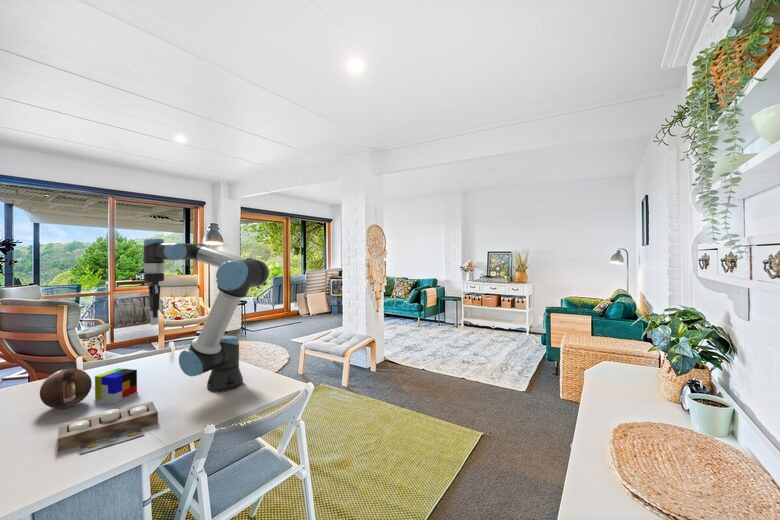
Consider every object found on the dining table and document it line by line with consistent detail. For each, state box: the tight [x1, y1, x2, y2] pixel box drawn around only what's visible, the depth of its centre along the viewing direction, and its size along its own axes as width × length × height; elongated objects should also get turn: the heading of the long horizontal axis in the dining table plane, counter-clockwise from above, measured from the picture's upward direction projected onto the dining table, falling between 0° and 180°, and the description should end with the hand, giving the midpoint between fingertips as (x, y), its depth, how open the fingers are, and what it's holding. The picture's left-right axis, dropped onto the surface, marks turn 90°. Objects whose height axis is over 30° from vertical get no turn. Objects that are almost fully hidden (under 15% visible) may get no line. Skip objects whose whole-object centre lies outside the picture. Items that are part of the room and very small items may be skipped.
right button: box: [130, 406, 147, 416], centre depth 124 cm, size 5×5×4 cm
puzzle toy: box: [94, 368, 138, 402], centre depth 146 cm, size 10×10×10 cm
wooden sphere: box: [39, 368, 93, 410], centre depth 135 cm, size 15×15×15 cm
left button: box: [69, 420, 89, 432], centre depth 113 cm, size 5×5×4 cm
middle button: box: [100, 408, 120, 424], centre depth 118 cm, size 5×5×4 cm
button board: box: [57, 401, 159, 455], centre depth 116 cm, size 26×19×4 cm
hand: (154, 324), depth 153 cm, fingers closed
